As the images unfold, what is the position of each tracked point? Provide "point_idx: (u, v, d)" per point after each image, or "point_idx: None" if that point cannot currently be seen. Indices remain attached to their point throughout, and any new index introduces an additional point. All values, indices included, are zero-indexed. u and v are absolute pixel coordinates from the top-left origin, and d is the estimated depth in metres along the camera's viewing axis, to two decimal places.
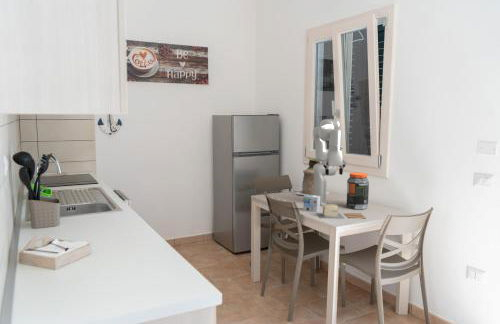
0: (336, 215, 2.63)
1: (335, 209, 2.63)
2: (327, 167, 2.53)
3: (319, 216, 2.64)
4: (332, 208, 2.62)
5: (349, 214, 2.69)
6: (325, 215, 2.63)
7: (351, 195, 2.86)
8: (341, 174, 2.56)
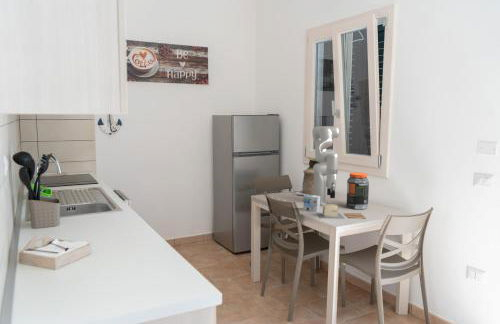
0: (336, 215, 2.63)
1: (335, 209, 2.63)
2: (334, 190, 2.58)
3: (319, 216, 2.64)
4: (332, 208, 2.62)
5: (349, 214, 2.69)
6: (325, 215, 2.63)
7: (351, 195, 2.86)
8: None
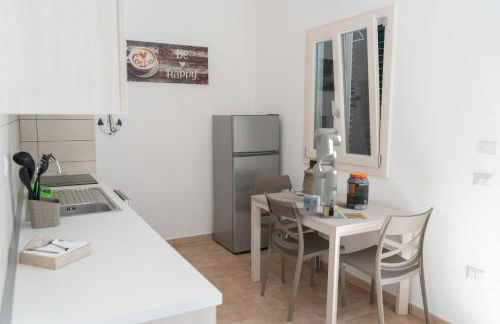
0: (336, 215, 2.63)
1: (335, 209, 2.63)
2: (333, 208, 2.62)
3: (319, 216, 2.64)
4: None
5: (349, 214, 2.69)
6: (325, 215, 2.63)
7: (351, 195, 2.86)
8: None
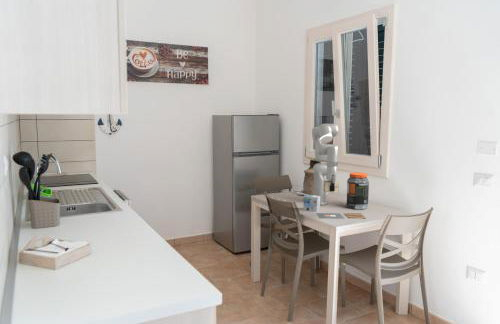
0: (337, 191, 2.61)
1: (336, 184, 2.61)
2: None
3: (319, 216, 2.64)
4: None
5: (349, 214, 2.69)
6: (326, 191, 2.61)
7: (351, 195, 2.86)
8: None
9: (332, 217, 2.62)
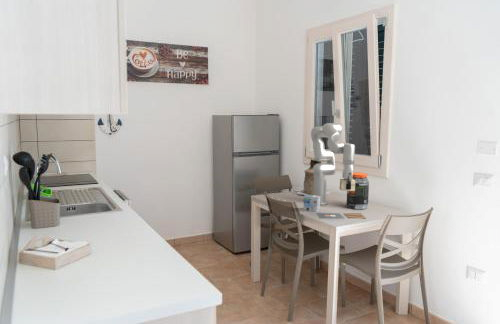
0: (353, 189, 2.61)
1: (352, 182, 2.60)
2: (350, 182, 2.59)
3: (319, 216, 2.64)
4: None
5: (349, 214, 2.69)
6: (342, 189, 2.61)
7: (351, 195, 2.86)
8: None
9: (332, 217, 2.62)
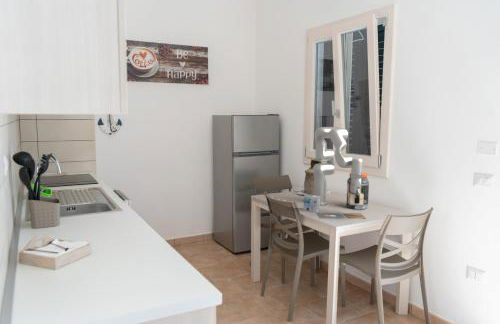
0: (362, 203, 2.62)
1: (361, 196, 2.62)
2: None
3: (319, 216, 2.64)
4: None
5: (349, 214, 2.69)
6: (351, 203, 2.62)
7: None
8: None
9: (332, 217, 2.62)
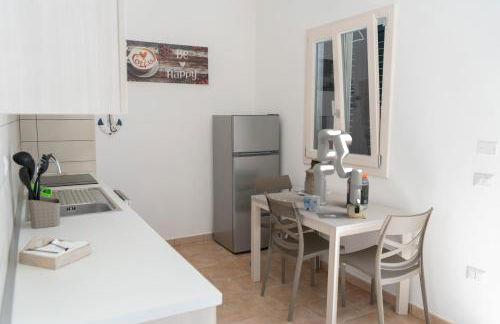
0: (361, 215, 2.63)
1: (360, 208, 2.63)
2: None
3: (319, 216, 2.64)
4: None
5: None
6: (350, 215, 2.63)
7: None
8: None
9: (332, 217, 2.62)
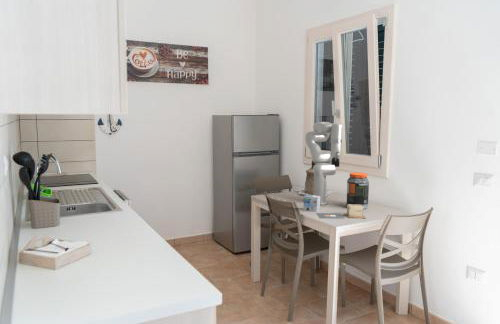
0: (361, 215, 2.63)
1: (360, 208, 2.63)
2: None
3: (319, 216, 2.64)
4: (357, 208, 2.63)
5: None
6: (350, 215, 2.63)
7: (351, 195, 2.86)
8: None
9: (332, 217, 2.62)
